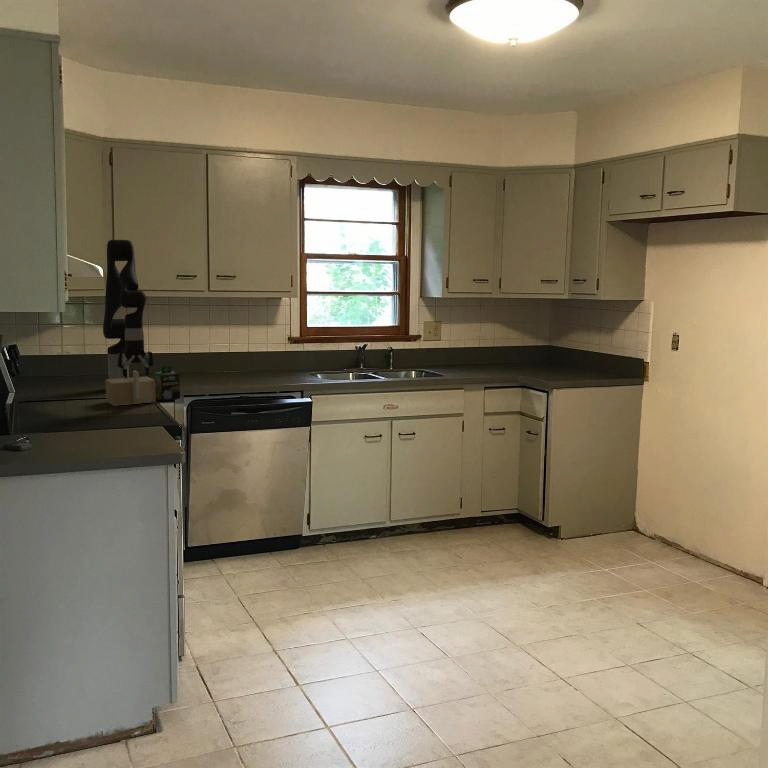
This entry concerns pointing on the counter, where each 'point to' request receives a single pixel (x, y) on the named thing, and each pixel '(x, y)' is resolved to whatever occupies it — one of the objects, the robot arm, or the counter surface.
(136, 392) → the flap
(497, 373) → the counter surface
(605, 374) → the counter surface
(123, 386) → the carton
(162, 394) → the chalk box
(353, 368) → the counter surface
